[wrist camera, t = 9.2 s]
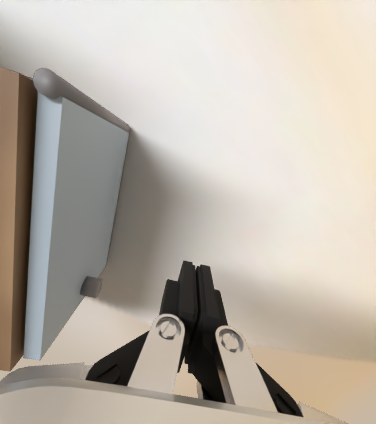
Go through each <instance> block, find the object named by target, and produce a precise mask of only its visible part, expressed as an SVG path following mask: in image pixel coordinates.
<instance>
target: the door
mask: <svg viewBox="0 0 376 424" xmlns="http://www.w3.org/2000/svg"><path fill="white" fill-rule="evenodd" d="M33 83H34V86H35V88H36V89H37V91H38V100H37V119H36V137H35V155H34V174H33V192H32V210H31V228H30V247H29V265H28V283H27V302H26V320H25V338H24V357H23V358H26V359H33V360H41V359H42V357H43V356H44V354H45V353H46V351H47V350H48V348H49V347H50V346H51V344H52V343H53V341H54V340H55V338H56V337H57V336H58V334H59V333H60V331H61V330H62V328H63V327H64V325H65V324H66V323H67V321H68V320H69V318H70V317H71V315H72V314H73V312H74V311H75V310H76V308H77V307H78V305H79V304H80V302H81V301H82V300H83V298H84V297H85V296H88V297H94V298H95V297H96V296H97V295H98V293H99V291H100V288H101V285H102V279H100V278H98V277H99V275H100V274H101V272H102V271H103V269H104V268H105V266H106V263H107V257H108V251H109V246H110V240H111V234H112V229H113V223H114V217H115V211H116V206H117V200H118V194H119V188H120V183H121V177H122V171H123V165H124V160H125V154H126V148H127V143H128V137H129V132H130V127H129V125H128V124H126V123H125V122H124V121H122V120H121V119H119V118H118V117H116V116H115V115H114V114H112V113H111V112H109V111H108V110H106V109H105V108H104V107H102V106H101V105H99V104H98V103H96V102H95V101H94V100H92V99H91V98H89V97H88V96H86V95H85V94H84V93H82V92H81V91H79V90H78V89H76V88H75V87H74V86H72V85H71V84H69V83H68V82H66V81H65V80H64V79H62V78H61V77H59V76H58V75H56V74H55V73H54V72H52V71H51V70H49V69H46V68H41V69H38V70H37V71H36V72H35V73H34V76H33Z"/></svg>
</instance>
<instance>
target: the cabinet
mask: <svg viewBox="0 0 376 424" xmlns="http://www.w3.org/2000/svg"><path fill="white" fill-rule="evenodd" d="M37 100H38V91H37V89H36V88H35V86H34V83H33V78H29V77H26V76H24V75H22V74H20V73H18V72H14V71H11V70H8V69H4V68H1V67H0V370H4V371H11V370H12V368H13V367H14V366H15V365H16V363H17V362H18V361H19V360H20V358H21V357H22V356H23V355H24V338H25V320H26V302H27V283H28V265H29V247H30V228H31V210H32V192H33V174H34V155H35V137H36V119H37Z"/></svg>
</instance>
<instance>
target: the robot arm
mask: <svg viewBox="0 0 376 424" xmlns="http://www.w3.org/2000/svg"><path fill="white" fill-rule="evenodd" d="M184 356H185V364H188V373H192V374H193V375H194V376H195V378H196V379H197V380H198V381H197V393H198V398H192V397H186V396H180V395H174V394H173V392H174V386H175V381H176V376H177V373H178V372H179V371H180V368H181V365H182V362H183V359H184ZM0 424H348V423H346V422H344V421H342V420H339V419H337V418H335V417H333V416H330V415H328V414H326V413H323V412H322V411H319V410H317V409H315V408H313V407H310V406H308V405H306V404H303V403H301V402H299V403H298V404H296V402H295V401H294V399H293V398H292V397H291V396H290V395H289V394H288V393H287V392H286V391H285V390H284V389H283V388H282V387H281V386H280V385H279V384H278V383H277V382H276V381H275V380H274V379H272V378H271V377H270V376H269V375H268V374H267V373H266V372H265V371H264V370H263V369H262V368H261V367H260V366H259V365H258V364H257V363H256V362H255V360H254V359H253V356H252V354H251V352H250V349H249V347H248V345H247V343H246V340H245V339H244V337H243V336H242V334H241V333H240V332H239V331H237V330H236V329H235V328H232V327H230V326H228V324H227V319H226V315H225V311H224V307H223V302H222V298H221V294H220V291H219V290H215V289H214V285H213V280H212V275H211V270H210V266H206V265H200V267H199V266H197V268H196V271H195V265H192V262H188V261H183V264H182V267H181V271H180V275H179V278H178V281H173V280H169V279H167V282H166V286H165V290H164V294H163V298H162V303H161V308H160V314H159V316H158V317H157V318H155V320H154V322H153V324H152V326H151V329H150V330H149V331H148V332H146V333H144V334H143V335H141V336H139V337H138V338H136V339H134V340H132V341H131V342H129V343H128V344H126V345H124V346H122V347H121V348H119V349H117V350H116V351H114V352H112V353H110V354H109V355H107V356H105V357H104V358H102V359H100V360H99V361H98V362H97V363H95V364H94V365H87V366H84V363H71V364H57V365H43V366H28V367H24V368H19V369H17V370H15V371H13V372H11V373H9V374H8V375H7V376H6V377H5V378H3V379H2V380H1V381H0Z"/></svg>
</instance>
